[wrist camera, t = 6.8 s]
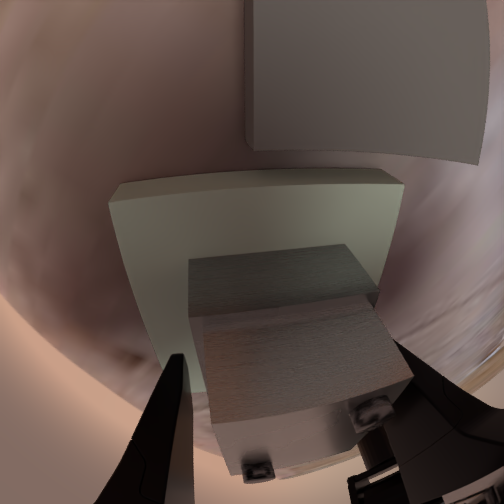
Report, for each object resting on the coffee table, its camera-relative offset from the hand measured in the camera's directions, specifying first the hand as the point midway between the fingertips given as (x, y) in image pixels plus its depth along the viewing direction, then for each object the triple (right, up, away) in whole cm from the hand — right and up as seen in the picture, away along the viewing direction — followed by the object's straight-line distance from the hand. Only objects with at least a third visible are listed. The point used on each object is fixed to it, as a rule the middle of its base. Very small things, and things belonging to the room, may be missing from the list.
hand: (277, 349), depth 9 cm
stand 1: (+3, +11, -3) cm, 12 cm away
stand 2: (-1, +2, +2) cm, 3 cm away
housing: (0, +1, +1) cm, 2 cm away
